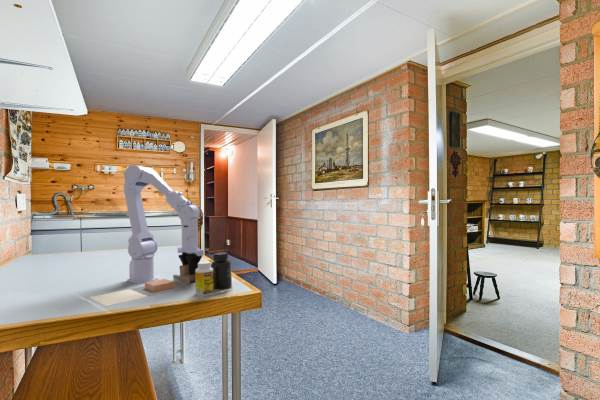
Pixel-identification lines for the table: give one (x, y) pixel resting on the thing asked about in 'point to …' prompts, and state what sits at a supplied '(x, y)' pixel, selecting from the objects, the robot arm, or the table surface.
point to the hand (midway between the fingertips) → (190, 273)
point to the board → (132, 294)
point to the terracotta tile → (159, 285)
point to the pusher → (184, 276)
